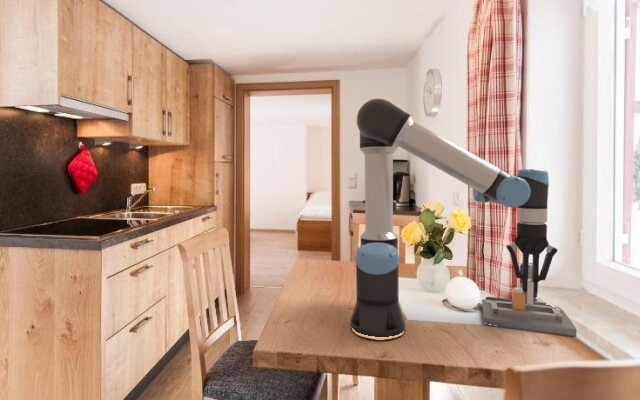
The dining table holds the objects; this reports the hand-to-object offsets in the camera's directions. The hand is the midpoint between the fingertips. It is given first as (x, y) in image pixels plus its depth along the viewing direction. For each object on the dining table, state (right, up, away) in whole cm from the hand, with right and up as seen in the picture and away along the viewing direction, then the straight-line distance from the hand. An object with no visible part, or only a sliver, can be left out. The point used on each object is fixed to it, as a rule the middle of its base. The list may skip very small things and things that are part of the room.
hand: (529, 302), depth 104 cm
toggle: (-3, -3, +1) cm, 4 cm away
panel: (-1, -5, +1) cm, 5 cm away
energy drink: (+10, -4, +18) cm, 21 cm away
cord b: (+4, -4, +13) cm, 14 cm away
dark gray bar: (+4, -4, +10) cm, 12 cm away
